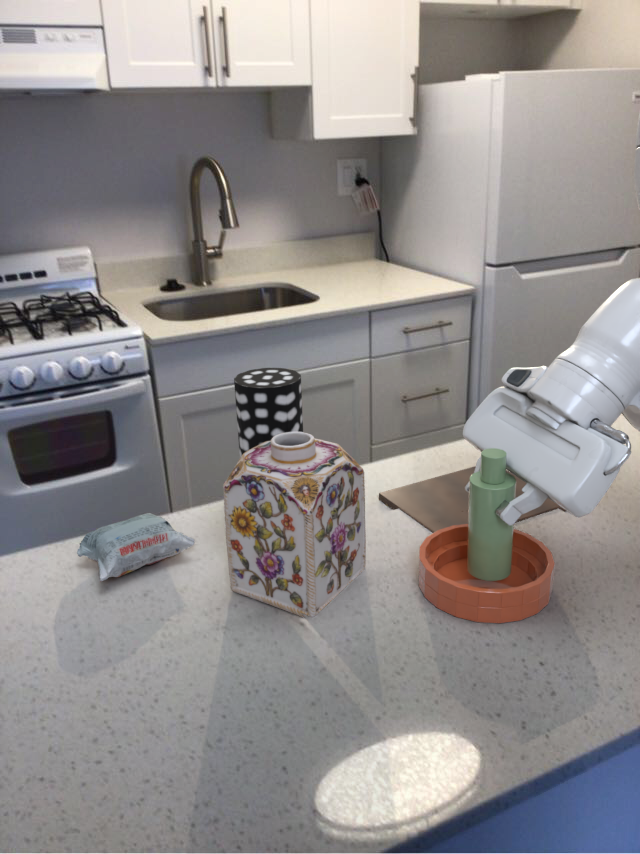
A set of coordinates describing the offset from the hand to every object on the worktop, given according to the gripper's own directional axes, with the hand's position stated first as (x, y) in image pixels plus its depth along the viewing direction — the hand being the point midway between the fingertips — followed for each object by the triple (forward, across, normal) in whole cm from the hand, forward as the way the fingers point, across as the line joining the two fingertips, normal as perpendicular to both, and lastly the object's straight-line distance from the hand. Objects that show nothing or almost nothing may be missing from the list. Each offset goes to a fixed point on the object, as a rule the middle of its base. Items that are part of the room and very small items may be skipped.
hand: (486, 507), depth 80 cm
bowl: (+7, 0, -8) cm, 11 cm away
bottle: (+5, 0, -6) cm, 8 cm away
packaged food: (+32, +21, +18) cm, 42 cm away
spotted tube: (+19, +25, +4) cm, 32 cm away
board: (+1, +19, -14) cm, 24 cm away
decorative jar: (+20, +10, +6) cm, 23 cm away
